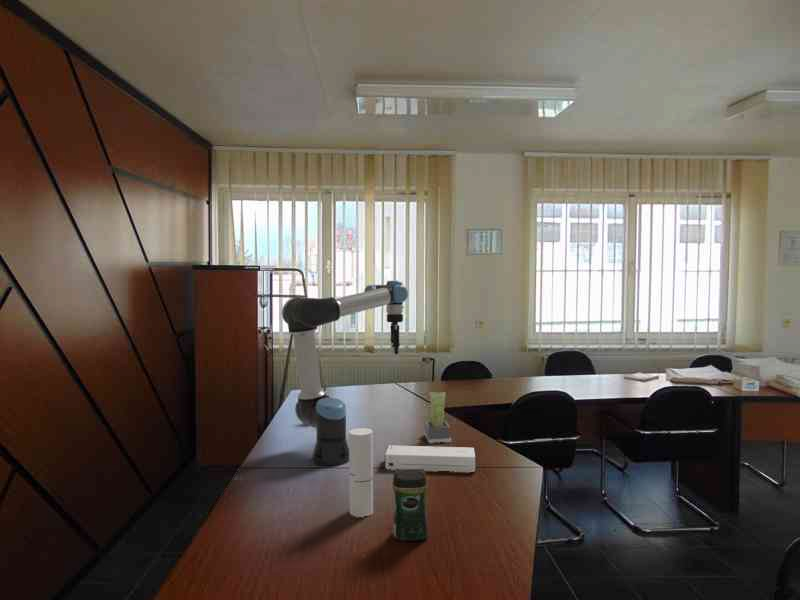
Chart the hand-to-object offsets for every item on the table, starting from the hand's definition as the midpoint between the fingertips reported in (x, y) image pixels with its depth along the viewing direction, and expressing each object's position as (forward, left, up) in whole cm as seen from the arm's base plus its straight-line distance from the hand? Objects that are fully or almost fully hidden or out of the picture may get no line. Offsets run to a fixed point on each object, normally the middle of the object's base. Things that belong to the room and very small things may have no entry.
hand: (394, 358), depth 238 cm
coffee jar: (-98, +6, -35) cm, 104 cm away
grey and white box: (-13, -18, -34) cm, 41 cm away
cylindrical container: (-82, +19, -35) cm, 91 cm away
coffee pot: (+26, +34, -35) cm, 55 cm away
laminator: (-46, -9, -35) cm, 59 cm away
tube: (-13, -18, -33) cm, 40 cm away
